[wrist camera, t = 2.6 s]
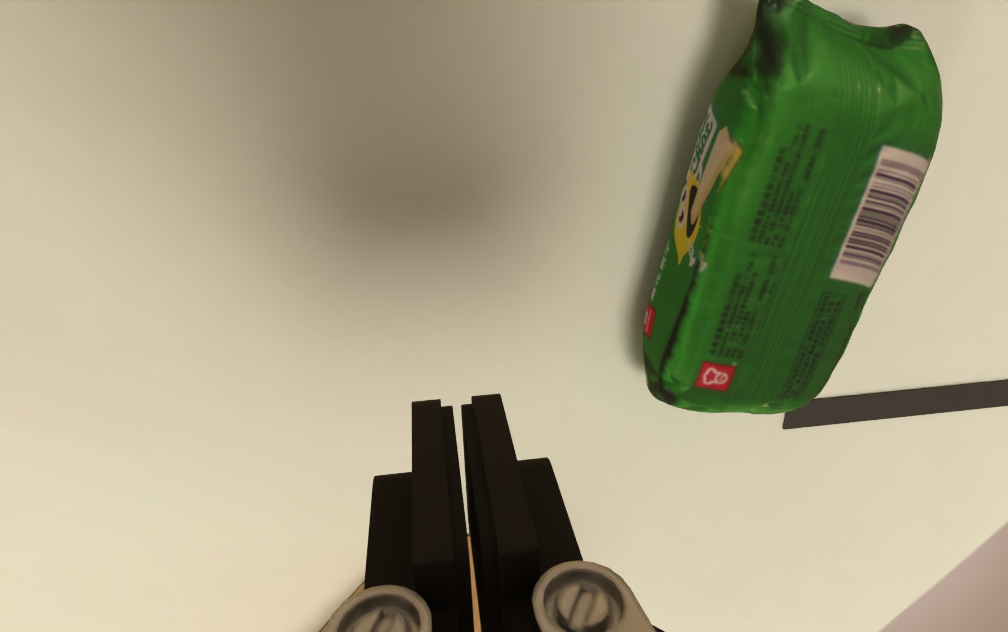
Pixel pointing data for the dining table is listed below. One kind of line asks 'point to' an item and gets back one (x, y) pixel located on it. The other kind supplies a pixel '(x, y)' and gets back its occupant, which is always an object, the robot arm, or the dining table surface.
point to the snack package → (789, 209)
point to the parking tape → (898, 404)
